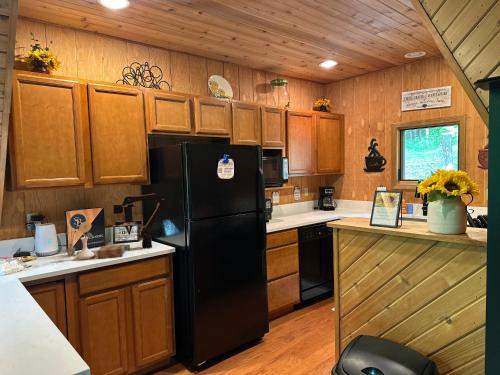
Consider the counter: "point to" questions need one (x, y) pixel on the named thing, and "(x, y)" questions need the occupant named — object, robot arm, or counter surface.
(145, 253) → the counter surface
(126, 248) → the riser
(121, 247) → the grey jagged bowl
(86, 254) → the flower in vase
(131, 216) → the robot arm
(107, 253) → the housing
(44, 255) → the counter surface
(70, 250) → the reed diffuser
